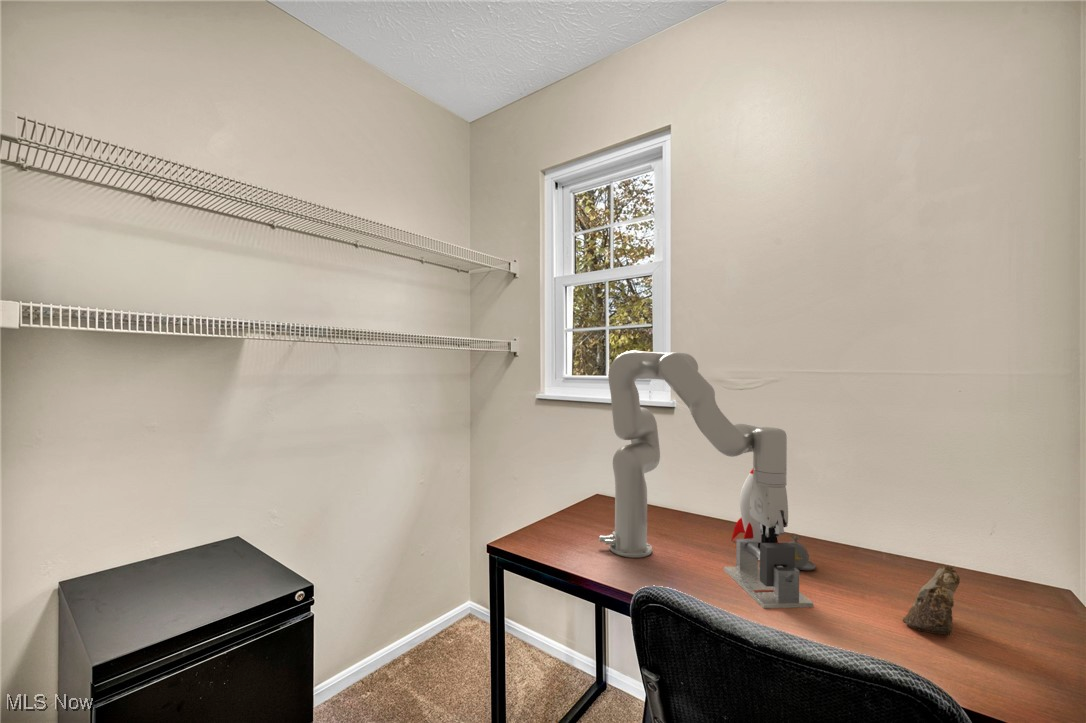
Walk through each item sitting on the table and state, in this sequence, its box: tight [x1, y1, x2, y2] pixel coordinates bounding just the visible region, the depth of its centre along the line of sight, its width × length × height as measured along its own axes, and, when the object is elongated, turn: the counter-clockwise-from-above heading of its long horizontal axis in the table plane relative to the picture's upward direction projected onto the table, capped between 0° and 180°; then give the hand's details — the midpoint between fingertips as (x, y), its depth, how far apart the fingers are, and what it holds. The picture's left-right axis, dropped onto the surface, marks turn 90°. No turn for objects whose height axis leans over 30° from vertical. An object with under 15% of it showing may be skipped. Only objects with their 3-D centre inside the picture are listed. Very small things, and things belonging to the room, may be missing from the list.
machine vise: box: [723, 538, 814, 609], centre depth 118 cm, size 12×20×8 cm, turn 4°
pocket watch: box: [787, 533, 816, 571], centre depth 130 cm, size 8×8×10 cm
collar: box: [759, 542, 795, 587], centre depth 113 cm, size 7×3×9 cm, turn 94°
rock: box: [902, 565, 961, 637], centre depth 101 cm, size 15×8×15 cm
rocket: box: [731, 468, 779, 549], centre depth 144 cm, size 11×11×25 cm
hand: (769, 551), depth 117 cm, fingers closed
